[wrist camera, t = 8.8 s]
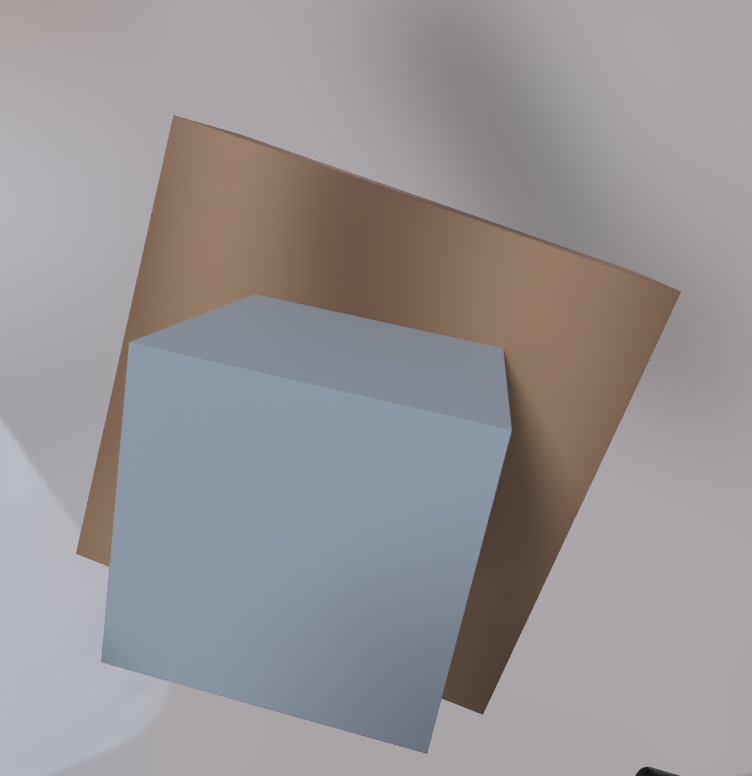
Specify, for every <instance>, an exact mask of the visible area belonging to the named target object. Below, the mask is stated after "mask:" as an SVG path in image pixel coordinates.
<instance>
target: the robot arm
mask: <svg viewBox="0 0 752 776" xmlns="http://www.w3.org/2000/svg"><path fill="white" fill-rule="evenodd" d="M635 776H679V775H675V774H672V773H668V772H665V771H661V770H658V769H655V768H651V767H644V768H642V769H640V770H639V771H638V773H637V774H636V775H635Z"/></svg>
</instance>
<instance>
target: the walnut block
mask: <svg viewBox="0 0 752 776" xmlns="http://www.w3.org/2000/svg"><path fill="white" fill-rule="evenodd" d="M680 293H681V292H680V291H678V290H675V289H673V288H671V287H669V286H666V285H664V284H662V283H660V282H657V281H655V280H653V279H650V278H648V277H646V276H644V275H641V274H639V273H637V272H634V271H632V270H629V269H626V268H623V267H620V266H617V265H614V264H612V263H608V262H606V261H603V260H600V259H597V258H594V257H591V256H588V255H586V254H583V253H580V252H577V251H574V250H571V249H568V248H566V247H563V246H560V245H557V244H554V243H551V242H548V241H545V240H542V239H539V238H537V237H534V236H531V235H528V234H525V233H522V232H520V231H517V230H514V229H511V228H508V227H505V226H502V225H499V224H496V223H493V222H491V221H488V220H485V219H482V218H479V217H476V216H474V215H471V214H468V213H465V212H462V211H459V210H456V209H453V208H450V207H448V206H444V205H442V204H439V203H436V202H433V201H430V200H428V199H425V198H422V197H419V196H416V195H413V194H410V193H407V192H404V191H402V190H399V189H396V188H393V187H390V186H387V185H384V184H382V183H379V182H376V181H373V180H370V179H367V178H364V177H361V176H359V175H356V174H353V173H350V172H347V171H344V170H341V169H338V168H335V167H333V166H330V165H327V164H324V163H321V162H318V161H315V160H313V159H309V158H307V157H304V156H301V155H298V154H295V153H292V152H289V151H286V150H284V149H281V148H278V147H275V146H272V145H269V144H267V143H264V142H261V141H258V140H255V139H252V138H249V137H246V136H243V135H240V134H236V133H233V132H229V131H226V130H222V129H219V128H216V127H212V126H209V125H205V124H202V123H198V122H195V121H191V120H188V119H185V118H181V117H178V116H173V120H172V125H171V129H170V134H169V138H168V143H167V148H166V152H165V156H164V161H163V165H162V170H161V174H160V179H159V183H158V188H157V192H156V197H155V201H154V206H153V210H152V215H151V219H150V224H149V228H148V233H147V237H146V242H145V246H144V251H143V256H142V260H141V264H140V269H139V273H138V278H137V282H136V287H135V291H134V296H133V300H132V305H131V309H130V314H129V319H128V323H127V327H126V332H125V336H124V341H123V345H122V350H121V354H120V359H119V363H118V368H117V373H116V377H115V382H114V386H113V391H112V395H111V399H110V404H109V408H108V413H107V417H106V422H105V426H104V431H103V435H102V440H101V444H100V448H99V453H98V458H97V462H96V466H95V471H94V476H93V480H92V485H91V489H90V494H89V498H88V502H87V507H86V512H85V516H84V521H83V525H82V529H81V534H80V538H79V543H78V547H77V552H76V554H78V555H81V556H83V557H86V558H89V559H91V560H94V561H96V562H99V563H101V564H104V565H106V566H109V567H110V556H111V545H112V533H113V522H114V510H115V499H116V487H117V476H118V464H119V453H120V441H121V430H122V418H123V407H124V395H125V384H126V372H127V361H128V349H129V342H131V341H134V340H136V339H139V338H142V337H144V336H147V335H149V334H152V333H155V332H157V331H160V330H162V329H165V328H168V327H170V326H173V325H175V324H178V323H181V322H183V321H186V320H188V319H191V318H194V317H196V316H199V315H201V314H204V313H207V312H209V311H212V310H215V309H217V308H220V307H222V306H225V305H228V304H230V303H233V302H235V301H238V300H241V299H243V298H246V297H248V296H251V295H254V294H257V295H262V296H266V297H271V298H276V299H280V300H285V301H289V302H294V303H299V304H303V305H308V306H312V307H317V308H321V309H326V310H331V311H335V312H340V313H344V314H349V315H354V316H358V317H363V318H367V319H372V320H376V321H381V322H386V323H390V324H395V325H399V326H404V327H409V328H413V329H418V330H422V331H427V332H431V333H436V334H441V335H445V336H450V337H454V338H459V339H464V340H468V341H473V342H477V343H482V344H486V345H491V346H496V347H500V348H503V351H504V361H505V371H506V380H507V390H508V399H509V409H510V418H511V428H512V431H511V435H510V439H509V443H508V447H507V450H506V454H505V458H504V462H503V466H502V470H501V473H500V477H499V481H498V485H497V489H496V492H495V496H494V500H493V504H492V508H491V511H490V515H489V519H488V523H487V527H486V531H485V534H484V538H483V542H482V546H481V550H480V553H479V557H478V561H477V565H476V569H475V572H474V576H473V580H472V584H471V588H470V592H469V595H468V599H467V603H466V607H465V611H464V614H463V618H462V622H461V626H460V630H459V634H458V637H457V641H456V645H455V649H454V653H453V656H452V660H451V664H450V668H449V672H448V675H447V679H446V683H445V687H444V691H443V695H442V699H445V700H447V701H450V702H452V703H455V704H457V705H460V706H462V707H465V708H467V709H470V710H472V711H475V712H478V713H480V714H483V713H484V711H485V709H486V707H487V704H488V702H489V700H490V698H491V696H492V694H493V692H494V689H495V687H496V685H497V683H498V681H499V679H500V677H501V674H502V672H503V670H504V668H505V666H506V664H507V662H508V660H509V658H510V655H511V653H512V651H513V649H514V647H515V645H516V642H517V640H518V638H519V636H520V634H521V632H522V630H523V628H524V626H525V623H526V621H527V619H528V617H529V615H530V613H531V610H532V609H533V606H534V604H535V602H536V600H537V598H538V595H539V594H540V591H541V589H542V587H543V585H544V583H545V581H546V578H547V576H548V574H549V572H550V570H551V568H552V565H553V564H554V562H555V559H556V557H557V555H558V553H559V551H560V549H561V547H562V544H563V542H564V540H565V538H566V536H567V534H568V532H569V530H570V527H571V525H572V523H573V521H574V518H575V517H576V515H577V513H578V510H579V508H580V506H581V504H582V502H583V500H584V498H585V495H586V493H587V491H588V489H589V487H590V484H591V483H592V480H593V478H594V476H595V474H596V472H597V470H598V468H599V465H600V464H601V461H602V459H603V457H604V455H605V453H606V451H607V449H608V446H609V444H610V442H611V440H612V438H613V436H614V434H615V432H616V429H617V427H618V425H619V423H620V421H621V419H622V417H623V414H624V412H625V410H626V408H627V406H628V404H629V401H630V400H631V397H632V395H633V393H634V391H635V389H636V387H637V385H638V382H639V380H640V378H641V376H642V374H643V372H644V369H645V367H646V365H647V363H648V361H649V359H650V357H651V355H652V353H653V350H654V348H655V346H656V344H657V342H658V340H659V338H660V335H661V333H662V331H663V329H664V327H665V325H666V323H667V321H668V318H669V316H670V314H671V312H672V310H673V308H674V306H675V304H676V301H677V299H678V297H679V295H680Z"/></svg>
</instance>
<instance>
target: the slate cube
mask: <svg viewBox="0 0 752 776" xmlns="http://www.w3.org/2000/svg"><path fill="white" fill-rule="evenodd" d="M511 431H512V428H511V418H510V409H509V399H508V390H507V380H506V371H505V361H504V351H503V348H500V347H496V346H491V345H486V344H482V343H477V342H473V341H468V340H464V339H459V338H454V337H450V336H445V335H441V334H436V333H431V332H427V331H422V330H418V329H413V328H409V327H404V326H399V325H395V324H390V323H386V322H381V321H376V320H372V319H367V318H363V317H358V316H354V315H349V314H344V313H340V312H335V311H331V310H326V309H321V308H317V307H312V306H308V305H303V304H299V303H294V302H289V301H285V300H280V299H276V298H271V297H266V296H262V295H257V294H254V295H251V296H248V297H246V298H243V299H241V300H238V301H235V302H233V303H230V304H228V305H225V306H222V307H220V308H217V309H215V310H212V311H209V312H207V313H204V314H201V315H199V316H196V317H194V318H191V319H188V320H186V321H183V322H181V323H178V324H175V325H173V326H170V327H168V328H165V329H162V330H160V331H157V332H155V333H152V334H149V335H147V336H144V337H142V338H139V339H136V340H134V341H131V342H129V349H128V361H127V372H126V384H125V395H124V407H123V418H122V430H121V441H120V453H119V464H118V476H117V487H116V499H115V510H114V522H113V533H112V545H111V556H110V568H109V579H108V591H107V602H106V614H105V625H104V637H103V648H102V660H101V662H103V663H106V664H110V665H113V666H117V667H120V668H124V669H128V670H131V671H135V672H138V673H142V674H145V675H149V676H153V677H156V678H160V679H163V680H167V681H170V682H174V683H177V684H181V685H185V686H189V687H192V688H195V689H199V690H202V691H206V692H209V693H213V694H217V695H220V696H224V697H227V698H231V699H234V700H238V701H242V702H245V703H249V704H252V705H256V706H259V707H263V708H266V709H270V710H274V711H277V712H281V713H284V714H288V715H291V716H295V717H298V718H302V719H305V720H309V721H313V722H316V723H320V724H323V725H327V726H330V727H334V728H338V729H342V730H345V731H348V732H352V733H356V734H359V735H362V736H366V737H370V738H373V739H377V740H380V741H384V742H387V743H391V744H394V745H398V746H401V747H405V748H409V749H412V750H416V751H419V752H423V753H427V752H428V748H429V744H430V740H431V737H432V732H433V728H434V725H435V721H436V717H437V714H438V710H439V706H440V702H441V698H442V695H443V691H444V687H445V683H446V679H447V675H448V672H449V668H450V664H451V660H452V656H453V653H454V649H455V645H456V641H457V637H458V634H459V630H460V626H461V622H462V618H463V614H464V611H465V607H466V603H467V599H468V595H469V592H470V588H471V584H472V580H473V576H474V572H475V569H476V565H477V561H478V557H479V553H480V550H481V546H482V542H483V538H484V534H485V531H486V527H487V523H488V519H489V515H490V511H491V508H492V504H493V500H494V496H495V492H496V489H497V485H498V481H499V477H500V473H501V470H502V466H503V462H504V458H505V454H506V450H507V447H508V443H509V439H510V435H511Z"/></svg>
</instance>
